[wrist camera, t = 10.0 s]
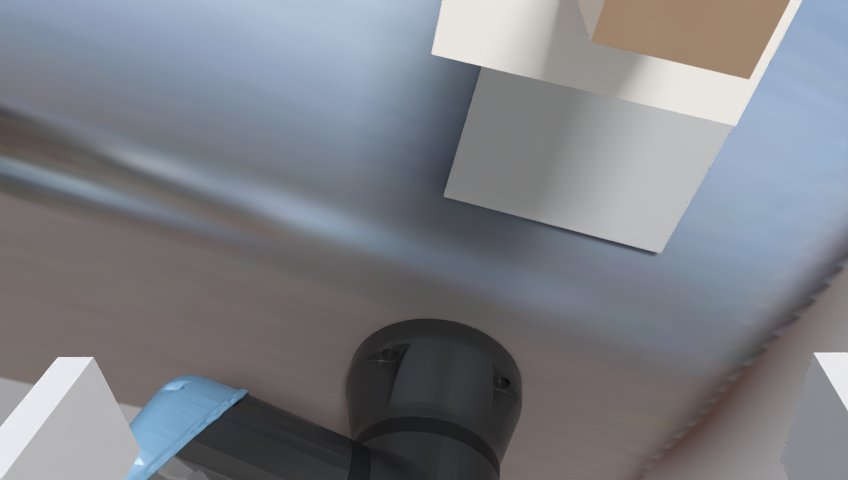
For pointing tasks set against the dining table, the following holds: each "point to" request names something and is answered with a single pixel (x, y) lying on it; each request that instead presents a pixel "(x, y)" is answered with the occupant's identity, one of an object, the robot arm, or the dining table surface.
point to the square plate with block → (625, 47)
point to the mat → (581, 159)
